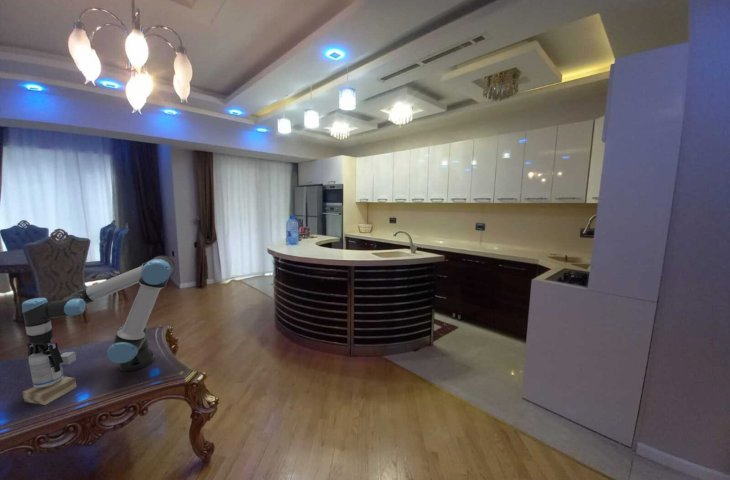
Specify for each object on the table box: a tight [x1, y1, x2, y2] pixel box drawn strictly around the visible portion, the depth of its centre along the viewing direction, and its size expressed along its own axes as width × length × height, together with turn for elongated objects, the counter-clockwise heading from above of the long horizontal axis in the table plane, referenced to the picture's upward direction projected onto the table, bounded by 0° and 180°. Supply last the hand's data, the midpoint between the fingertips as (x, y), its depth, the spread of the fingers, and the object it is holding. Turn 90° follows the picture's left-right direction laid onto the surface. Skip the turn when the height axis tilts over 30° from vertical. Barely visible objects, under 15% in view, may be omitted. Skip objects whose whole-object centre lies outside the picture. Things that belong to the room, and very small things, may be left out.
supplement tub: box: [27, 348, 64, 388], centre depth 129 cm, size 10×10×15 cm
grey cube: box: [60, 351, 77, 366], centre depth 156 cm, size 5×5×5 cm
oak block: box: [22, 376, 77, 406], centre depth 131 cm, size 12×12×5 cm
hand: (48, 376), depth 130 cm, fingers closed on supplement tub, 9 cm apart
